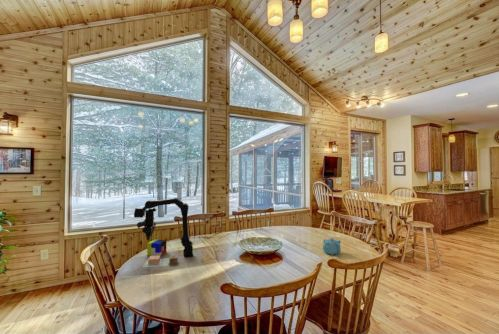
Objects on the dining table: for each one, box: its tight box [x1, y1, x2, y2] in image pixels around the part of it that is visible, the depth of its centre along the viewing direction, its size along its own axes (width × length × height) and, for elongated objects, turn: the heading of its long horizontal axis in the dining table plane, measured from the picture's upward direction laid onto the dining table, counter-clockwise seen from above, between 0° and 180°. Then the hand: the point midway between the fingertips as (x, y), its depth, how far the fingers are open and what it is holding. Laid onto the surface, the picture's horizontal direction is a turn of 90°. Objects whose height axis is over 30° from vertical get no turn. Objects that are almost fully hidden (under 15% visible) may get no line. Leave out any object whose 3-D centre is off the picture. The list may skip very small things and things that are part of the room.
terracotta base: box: [147, 255, 161, 264], centre depth 169 cm, size 7×7×3 cm
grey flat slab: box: [142, 257, 170, 268], centre depth 167 cm, size 16×14×1 cm
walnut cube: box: [168, 255, 179, 266], centre depth 167 cm, size 5×5×5 cm
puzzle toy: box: [146, 238, 167, 256], centre depth 185 cm, size 10×10×10 cm
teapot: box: [322, 237, 342, 256], centre depth 191 cm, size 20×17×12 cm
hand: (149, 238), depth 178 cm, fingers open, 9 cm apart
